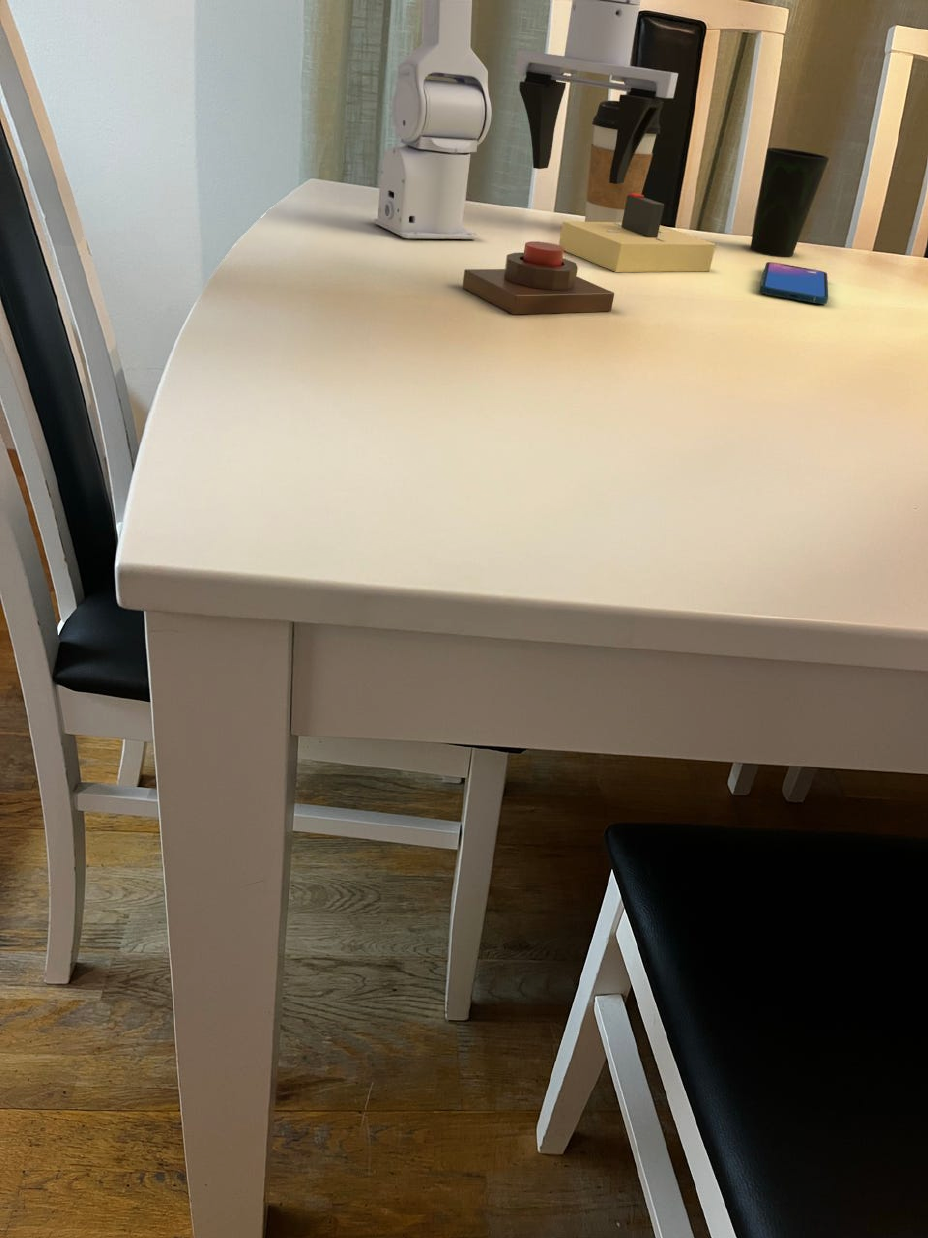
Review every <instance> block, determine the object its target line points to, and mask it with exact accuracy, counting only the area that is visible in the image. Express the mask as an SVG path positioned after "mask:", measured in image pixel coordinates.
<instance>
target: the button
mask: <svg viewBox="0 0 928 1238" xmlns="http://www.w3.org/2000/svg"><path fill="white" fill-rule="evenodd" d="M564 252H565V251H564V248H563V247H561V246H559V244H555V243H552V242H545V241H535V240H534V241H526V242H525V243H524V247H523V253H524V254H523V261H524V262H526V263H530V264H534V265H540V266H548V267H561V265H562V258H564Z"/></svg>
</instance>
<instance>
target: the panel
mask: <svg viewBox="0 0 928 1238" xmlns="http://www.w3.org/2000/svg"><path fill="white" fill-rule="evenodd" d="M621 225H622V223H621V222H585V221H574V220H573V221H571V220H569V221H568V220H566V221H565V220H563V221H562V224H561V230H560V236H559V241H558V245H559V246H561V247H563V248H564V252H567V253H569V254H572V255H573V256H577V257H579V258H581V259H583V260H585V261H588V262H591V263H593V264H595V265H598V266H600V267H603V268H604V269H608V270H610V271H613V272H615V273H641V272H642V273H651V272H652V273H653V272H654V273H657V272H658V273H659V272H662V273H663V272H665V273H666V272H710V270H711V266H712V262H713V258H714V254H715V250H716V246H717V244H716V243H714V242H711V241H708V240H705V239H703V238H699V237H696V236H693V235H690V234H687V233H684V232H682V231H679V230H676V229H673V228H670V227H668V226H664V225H661V224H660V228H659V233H658V237H646V236H643V235H640V234H638V233H635V232H633V231H630V230H627V229H625V228H622V227H621Z"/></svg>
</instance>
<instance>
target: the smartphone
mask: <svg viewBox="0 0 928 1238" xmlns="http://www.w3.org/2000/svg"><path fill="white" fill-rule="evenodd" d="M764 265H765V266H764V269H763V271H762V278H761V283H760V287H759V292H761V293H762V294H766V295H768V296H769V295H770V296H775V297H781V298H786V299H791V300H797V301H801V302H802V301H803V302H807V303H813V304H819V305H826V304H827V303H828V300H829V281H828V279H829V278H828V273H827V272H825V271H822V270H818V269H814V268H813V269H812V268H807V267H803V266H795V265H791V264H784V263H779V262H772V261H769V262H766V263H765V264H764Z"/></svg>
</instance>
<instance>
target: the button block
mask: <svg viewBox="0 0 928 1238" xmlns="http://www.w3.org/2000/svg"><path fill="white" fill-rule="evenodd" d="M523 254H524V252H512V253H509V254H506V260H505V265H504V268H483V269H482V268H480V269H478V268H476V269H475V268H473V269H471V268H470V269H467V268H466V269H463V270H464V272H463V279H462V289H464V290H465V291H468V292H470V293H472V294H473V295H475V296H478V297H479V298H481V299H482V300H485V301H486V302H488V303H490V304H493V305H494V306H496V307H498V308H500V309H501V310H504V311H506V312H508V313H510V314H511V315H513V316H515V315H518V316H519V315H541V314H542V315H545V314H546V315H548V314H570V313H571V314H572V313H573V314H574V313H575V314H576V313H600V312H611V311H612V307H613V302H614V298H615V292H613V291H610V290H609V289H607V288H604V287H602V286H600V285H597V284H595V283H593V282H591V281H588V280H586V279H583V278H581V277H579V276H578V271H579V270H578V269H579V268H578V267H579V266H578V265H577V263H576V262H574V261H571V260H569V259H567V258H564V257H563V258H562V265H561V267H548V266H540V265H534V264H530V263H526V262H524V261H523Z"/></svg>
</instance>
